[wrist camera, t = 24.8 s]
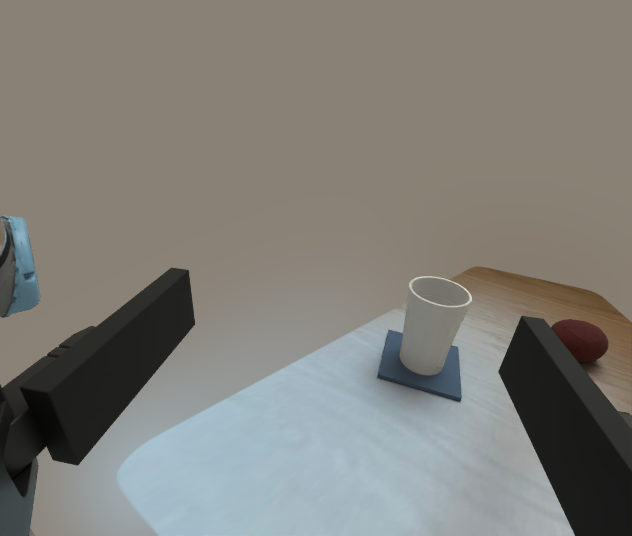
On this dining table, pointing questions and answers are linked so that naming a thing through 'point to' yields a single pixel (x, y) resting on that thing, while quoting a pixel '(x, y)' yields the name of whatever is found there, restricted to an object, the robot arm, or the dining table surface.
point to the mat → (437, 384)
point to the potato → (581, 339)
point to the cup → (431, 322)
